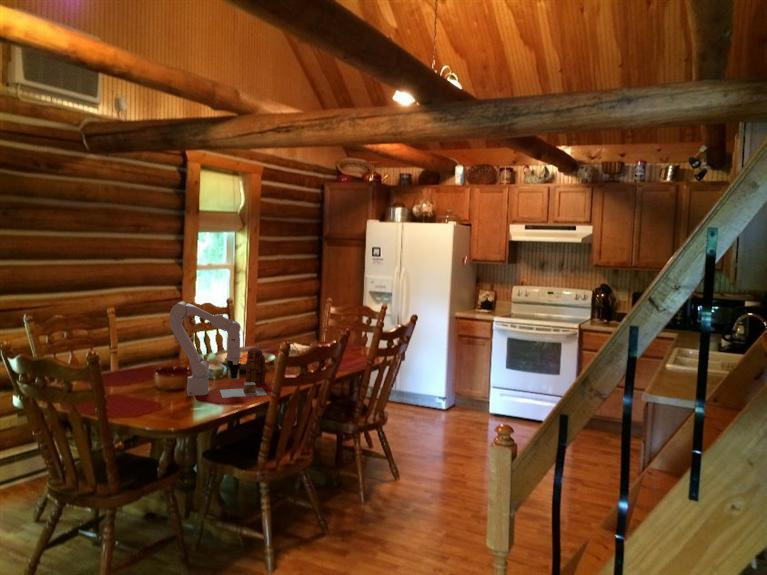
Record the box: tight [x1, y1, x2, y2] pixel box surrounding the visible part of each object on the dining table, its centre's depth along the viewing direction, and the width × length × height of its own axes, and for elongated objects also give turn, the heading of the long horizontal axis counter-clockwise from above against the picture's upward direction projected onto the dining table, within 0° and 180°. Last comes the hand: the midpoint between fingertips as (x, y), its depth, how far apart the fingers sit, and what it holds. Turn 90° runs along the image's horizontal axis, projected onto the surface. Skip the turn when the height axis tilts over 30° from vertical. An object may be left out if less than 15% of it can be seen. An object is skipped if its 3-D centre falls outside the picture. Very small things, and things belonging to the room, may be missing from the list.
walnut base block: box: [242, 381, 257, 394], centre depth 291 cm, size 5×5×4 cm
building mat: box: [219, 387, 268, 399], centre depth 290 cm, size 20×14×1 cm
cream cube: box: [227, 368, 240, 381], centre depth 288 cm, size 4×4×4 cm
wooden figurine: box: [245, 347, 266, 386], centre depth 309 cm, size 12×6×18 cm, turn 63°
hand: (233, 376), depth 288 cm, fingers closed on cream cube, 4 cm apart
